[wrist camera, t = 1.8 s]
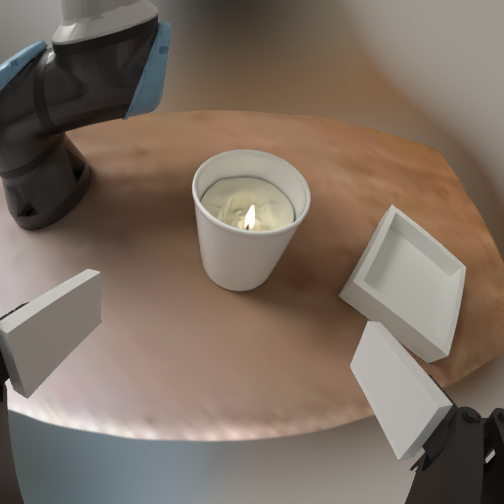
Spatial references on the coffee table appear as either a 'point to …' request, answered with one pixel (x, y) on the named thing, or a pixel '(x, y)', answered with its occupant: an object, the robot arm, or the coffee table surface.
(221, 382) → the coffee table surface
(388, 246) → the lipped tray
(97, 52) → the robot arm
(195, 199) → the candle holder
